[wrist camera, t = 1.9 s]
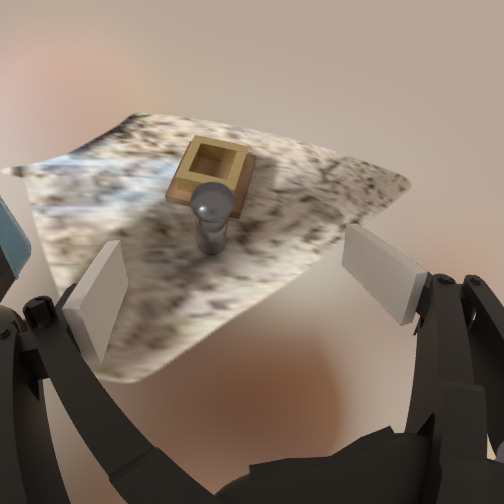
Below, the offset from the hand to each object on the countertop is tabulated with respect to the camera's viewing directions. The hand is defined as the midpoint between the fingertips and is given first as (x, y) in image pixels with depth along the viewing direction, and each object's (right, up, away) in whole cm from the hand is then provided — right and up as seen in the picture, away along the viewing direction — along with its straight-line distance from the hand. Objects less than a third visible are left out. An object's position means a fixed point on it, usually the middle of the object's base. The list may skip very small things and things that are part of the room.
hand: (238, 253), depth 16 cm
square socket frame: (-6, +13, +29) cm, 32 cm away
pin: (-5, +2, +26) cm, 27 cm away
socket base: (-6, +12, +30) cm, 33 cm away
